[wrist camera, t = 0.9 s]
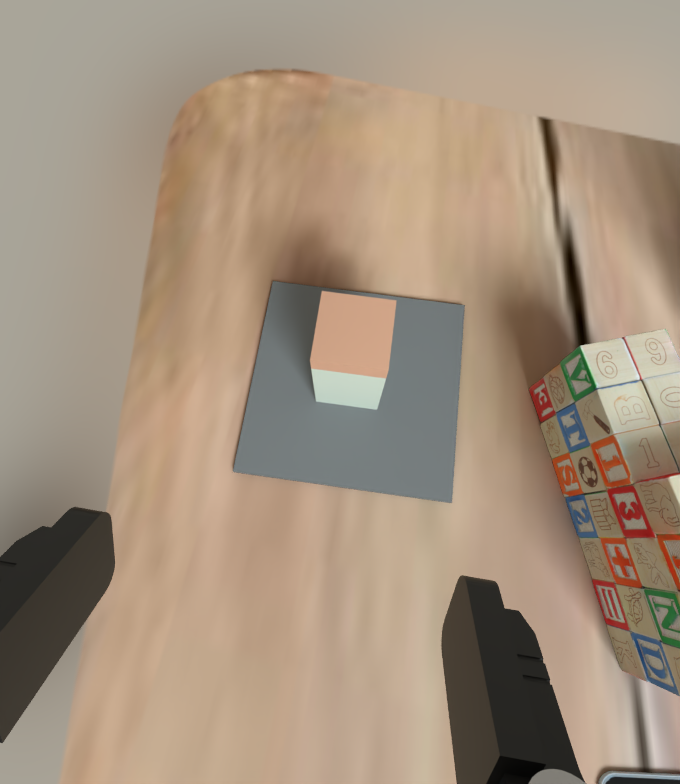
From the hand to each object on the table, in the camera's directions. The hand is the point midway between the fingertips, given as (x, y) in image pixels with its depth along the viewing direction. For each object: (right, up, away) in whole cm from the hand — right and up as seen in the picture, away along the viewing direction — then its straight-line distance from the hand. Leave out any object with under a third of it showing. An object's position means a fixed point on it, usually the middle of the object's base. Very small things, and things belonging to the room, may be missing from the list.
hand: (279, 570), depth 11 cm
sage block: (+2, +5, +28) cm, 29 cm away
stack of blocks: (+22, -5, +26) cm, 34 cm away
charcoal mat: (+3, +5, +28) cm, 29 cm away
